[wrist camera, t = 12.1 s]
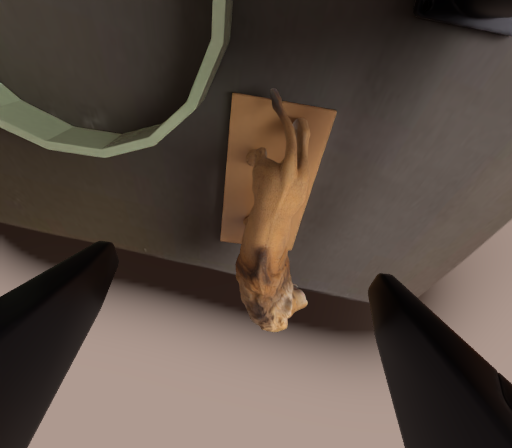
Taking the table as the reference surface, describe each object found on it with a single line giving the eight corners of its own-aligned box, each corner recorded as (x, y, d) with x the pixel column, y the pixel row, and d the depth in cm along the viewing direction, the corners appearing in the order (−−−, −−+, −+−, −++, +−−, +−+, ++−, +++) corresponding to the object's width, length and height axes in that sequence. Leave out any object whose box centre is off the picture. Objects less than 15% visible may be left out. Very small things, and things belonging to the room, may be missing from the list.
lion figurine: (297, 252, 25) (310, 343, 18) (244, 253, 25) (235, 342, 18) (313, 85, 16) (351, 133, 9) (228, 88, 16) (198, 137, 9)
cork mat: (336, 109, 17) (337, 111, 17) (291, 247, 25) (291, 250, 25) (232, 92, 16) (232, 93, 16) (220, 238, 24) (220, 241, 24)
